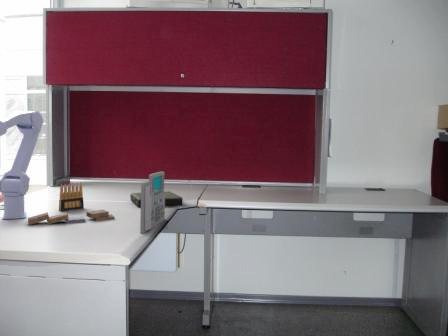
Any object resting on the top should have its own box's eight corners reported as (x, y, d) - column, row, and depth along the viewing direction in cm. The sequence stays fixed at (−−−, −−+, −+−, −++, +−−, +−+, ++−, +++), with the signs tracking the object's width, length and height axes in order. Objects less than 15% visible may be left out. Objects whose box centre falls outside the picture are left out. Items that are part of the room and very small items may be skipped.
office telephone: (146, 234, 136) (147, 177, 135) (139, 234, 137) (140, 176, 135) (168, 220, 159) (168, 171, 157) (161, 220, 160) (162, 170, 158)
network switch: (187, 206, 191) (187, 196, 191) (140, 210, 179) (140, 199, 178) (168, 199, 211) (168, 190, 211) (124, 202, 199) (124, 192, 198)
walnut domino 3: (86, 211, 157) (102, 209, 162) (86, 216, 158) (102, 213, 162) (91, 213, 154) (108, 211, 159) (92, 218, 154) (108, 216, 159)
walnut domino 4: (93, 215, 159) (111, 214, 162) (93, 220, 159) (111, 218, 163) (96, 218, 155) (114, 216, 158) (96, 222, 155) (114, 221, 158)
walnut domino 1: (28, 218, 149) (47, 212, 152) (29, 222, 150) (48, 216, 152) (27, 220, 145) (47, 214, 148) (29, 225, 145) (49, 218, 148)
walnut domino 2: (48, 217, 152) (67, 212, 154) (49, 221, 152) (68, 216, 154) (46, 219, 147) (66, 215, 149) (47, 224, 147) (67, 219, 149)
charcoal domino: (64, 217, 154) (83, 216, 157) (64, 222, 154) (83, 220, 157) (65, 220, 149) (85, 219, 152) (65, 225, 149) (85, 223, 152)
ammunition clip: (60, 211, 171) (60, 184, 170) (58, 211, 172) (58, 183, 171) (83, 208, 179) (83, 182, 178) (81, 208, 180) (81, 181, 179)
